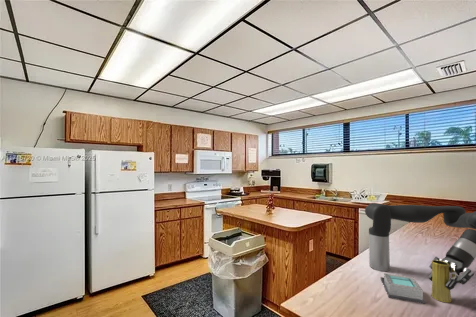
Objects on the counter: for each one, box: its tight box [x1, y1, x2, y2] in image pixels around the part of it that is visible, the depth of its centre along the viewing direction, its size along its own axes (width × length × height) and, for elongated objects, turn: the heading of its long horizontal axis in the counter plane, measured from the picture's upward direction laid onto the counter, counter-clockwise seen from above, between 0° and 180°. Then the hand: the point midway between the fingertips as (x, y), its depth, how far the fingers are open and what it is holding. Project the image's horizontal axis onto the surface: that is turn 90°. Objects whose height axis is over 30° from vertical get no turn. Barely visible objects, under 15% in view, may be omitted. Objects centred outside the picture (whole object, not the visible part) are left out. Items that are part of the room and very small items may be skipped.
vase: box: [431, 259, 453, 304], centre depth 95 cm, size 6×6×14 cm
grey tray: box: [380, 273, 426, 305], centre depth 101 cm, size 17×12×5 cm
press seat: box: [390, 278, 414, 287], centre depth 99 cm, size 7×7×1 cm
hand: (438, 283), depth 94 cm, fingers open, 6 cm apart
